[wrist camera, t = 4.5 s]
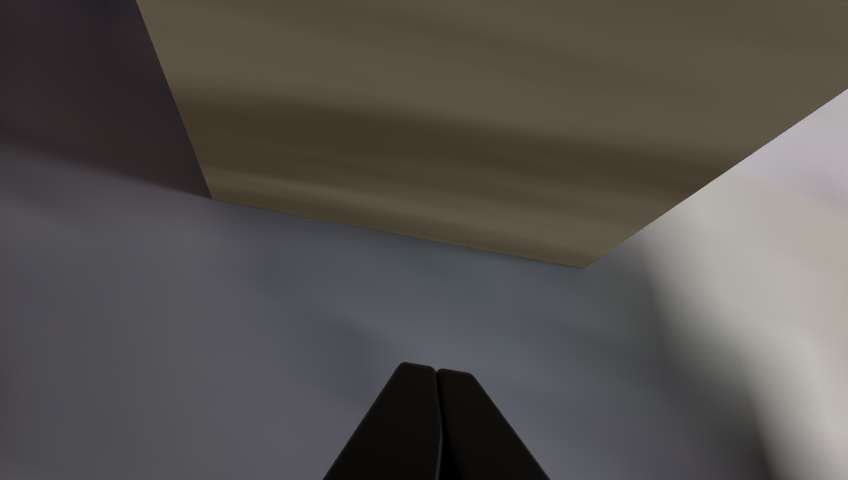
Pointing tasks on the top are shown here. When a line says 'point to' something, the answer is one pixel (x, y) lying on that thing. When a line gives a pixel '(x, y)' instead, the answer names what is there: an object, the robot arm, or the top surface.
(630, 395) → the top surface
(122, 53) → the top surface
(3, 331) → the top surface
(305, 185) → the oak block
